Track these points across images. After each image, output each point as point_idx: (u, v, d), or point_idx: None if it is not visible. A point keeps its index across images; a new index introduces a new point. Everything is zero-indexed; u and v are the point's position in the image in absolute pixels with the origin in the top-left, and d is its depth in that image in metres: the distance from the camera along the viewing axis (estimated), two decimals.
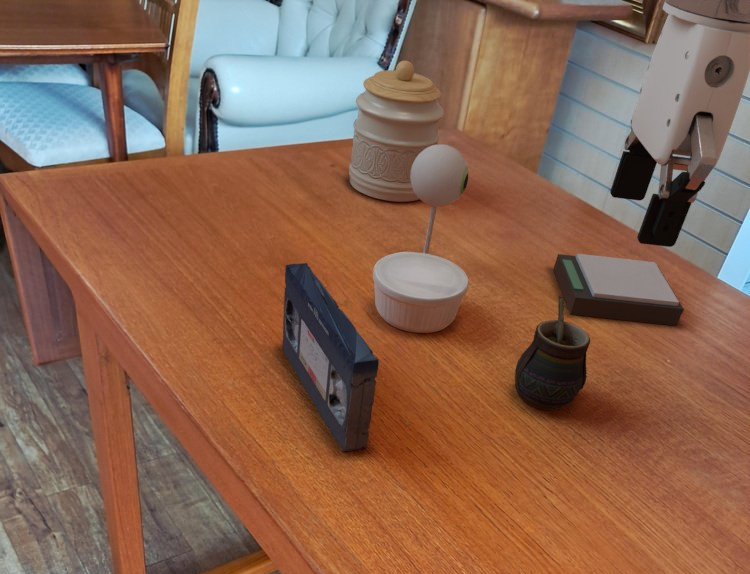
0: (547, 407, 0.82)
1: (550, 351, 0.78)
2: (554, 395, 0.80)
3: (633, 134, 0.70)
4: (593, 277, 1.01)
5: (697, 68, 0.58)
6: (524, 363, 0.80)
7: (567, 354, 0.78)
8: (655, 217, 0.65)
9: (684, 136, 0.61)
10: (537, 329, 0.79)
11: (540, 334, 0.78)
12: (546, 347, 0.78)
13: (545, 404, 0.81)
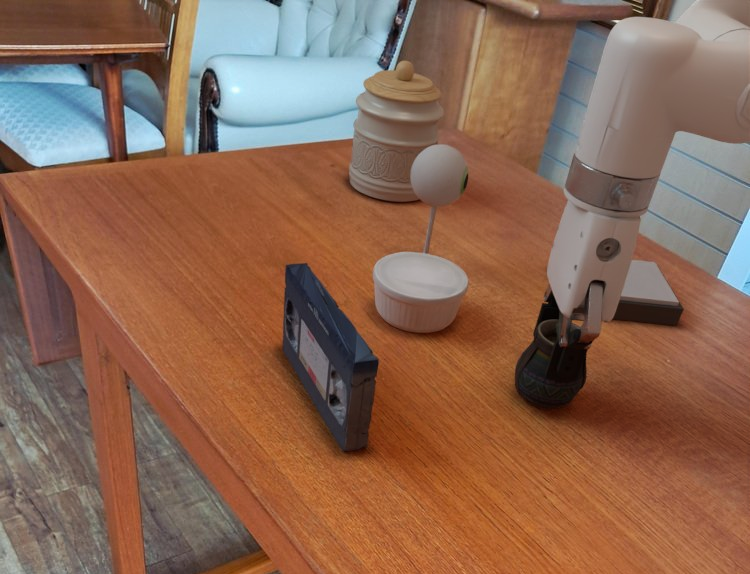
0: (546, 407, 0.82)
1: (550, 352, 0.78)
2: (553, 395, 0.80)
3: (549, 287, 0.80)
4: None
5: (590, 246, 0.68)
6: (524, 363, 0.80)
7: None
8: (558, 359, 0.76)
9: (582, 298, 0.71)
10: (537, 329, 0.79)
11: (540, 334, 0.78)
12: (546, 348, 0.78)
13: (545, 403, 0.81)
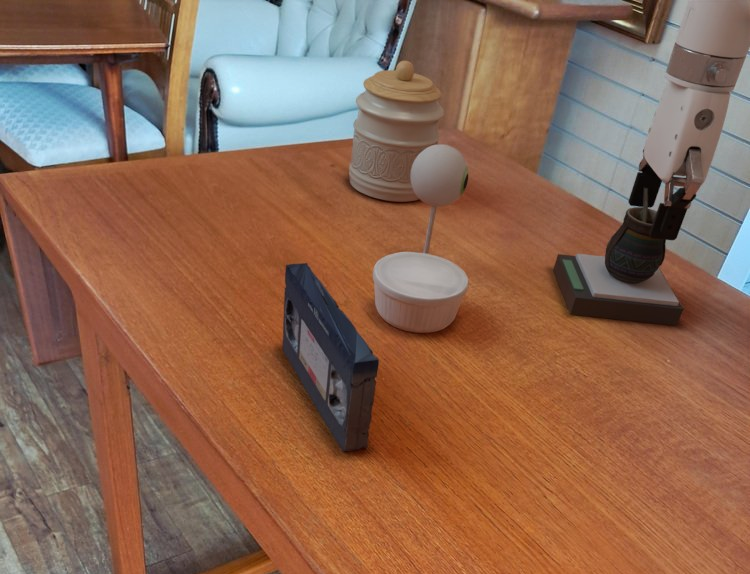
0: (632, 280, 1.00)
1: (638, 229, 0.96)
2: (639, 267, 0.98)
3: (645, 160, 0.97)
4: (593, 277, 1.01)
5: (689, 117, 0.85)
6: (615, 242, 0.98)
7: None
8: (662, 219, 0.92)
9: (681, 163, 0.87)
10: (627, 212, 0.97)
11: (630, 216, 0.96)
12: (635, 226, 0.96)
13: (631, 276, 0.99)
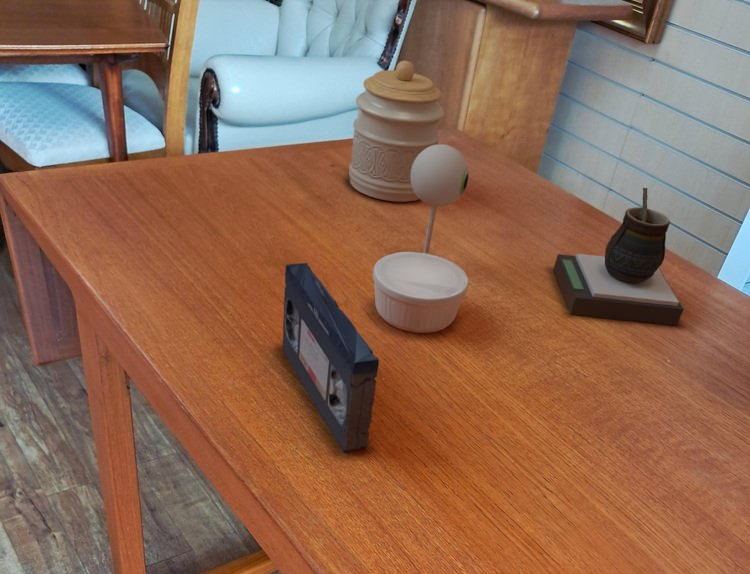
0: (632, 280, 1.00)
1: (638, 229, 0.96)
2: (639, 267, 0.98)
3: None
4: (593, 277, 1.01)
5: None
6: (615, 242, 0.99)
7: (652, 231, 0.96)
8: None
9: None
10: (626, 213, 0.97)
11: (629, 216, 0.96)
12: (635, 226, 0.96)
13: (631, 276, 0.99)
